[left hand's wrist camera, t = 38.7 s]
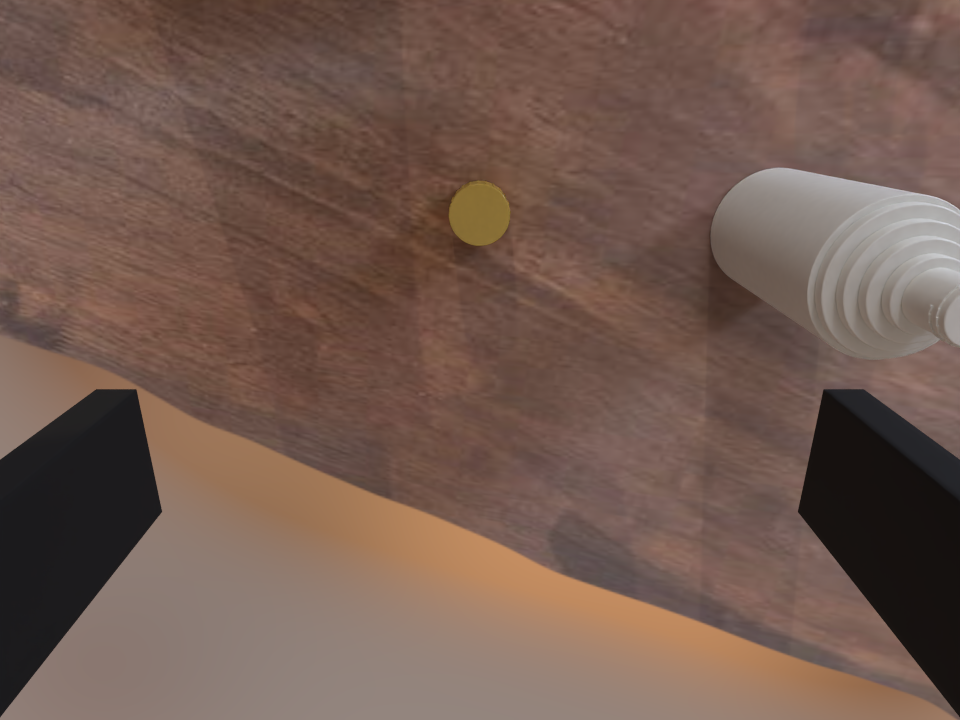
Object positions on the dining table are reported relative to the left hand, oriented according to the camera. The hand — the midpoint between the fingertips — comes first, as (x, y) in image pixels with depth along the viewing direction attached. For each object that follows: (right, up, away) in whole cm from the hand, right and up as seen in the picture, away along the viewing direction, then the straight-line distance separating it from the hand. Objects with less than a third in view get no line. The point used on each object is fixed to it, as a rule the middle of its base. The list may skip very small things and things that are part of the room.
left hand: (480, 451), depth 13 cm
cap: (0, +11, +29) cm, 31 cm away
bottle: (+19, +11, +31) cm, 38 cm away
